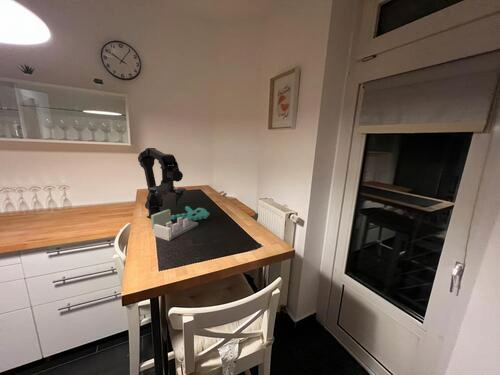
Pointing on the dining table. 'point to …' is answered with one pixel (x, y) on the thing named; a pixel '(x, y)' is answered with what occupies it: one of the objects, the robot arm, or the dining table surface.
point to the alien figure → (193, 214)
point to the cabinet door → (161, 218)
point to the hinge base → (173, 228)
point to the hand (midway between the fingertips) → (168, 205)
